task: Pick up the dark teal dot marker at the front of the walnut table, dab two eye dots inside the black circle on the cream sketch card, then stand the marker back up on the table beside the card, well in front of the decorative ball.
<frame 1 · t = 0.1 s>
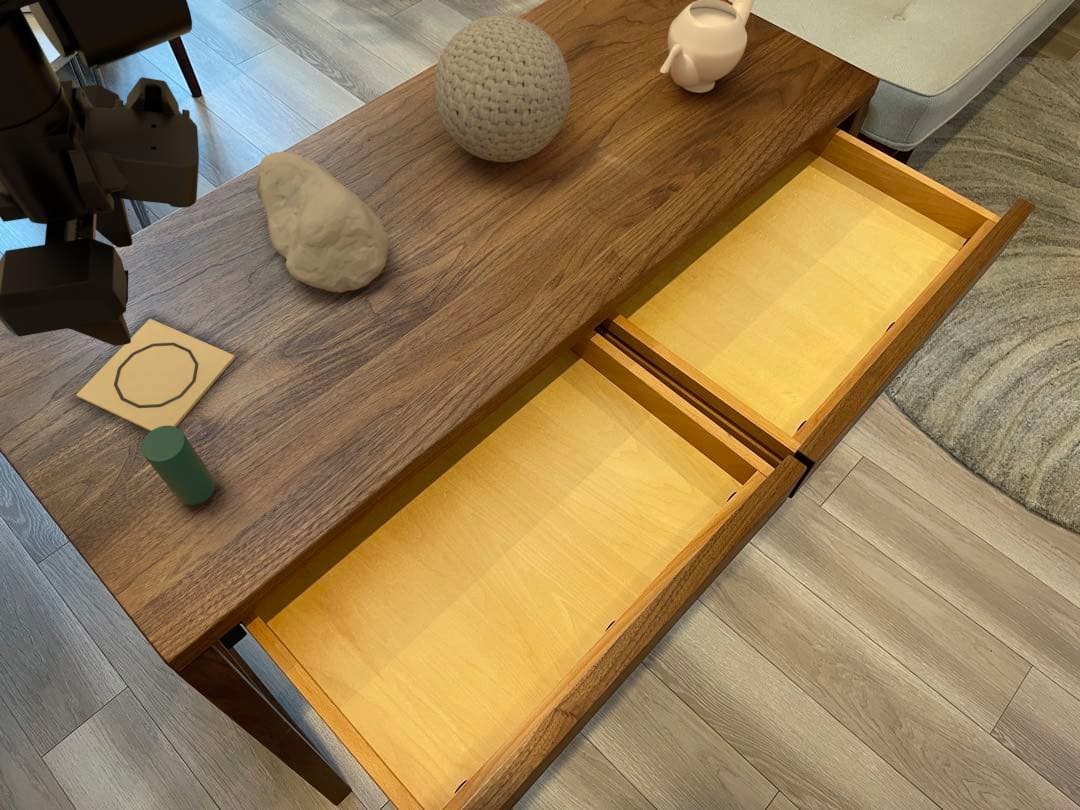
hand: (124, 291, 55), 18 cm above the table, tool pointing down, fingers open, 9 cm apart
sketch card: (158, 377, 73), on the table
decorative ball: (502, 148, 92), on the table
marker: (199, 493, 67), on the table
teapot: (696, 83, 101), on the table
decorative stone: (321, 246, 83), on the table
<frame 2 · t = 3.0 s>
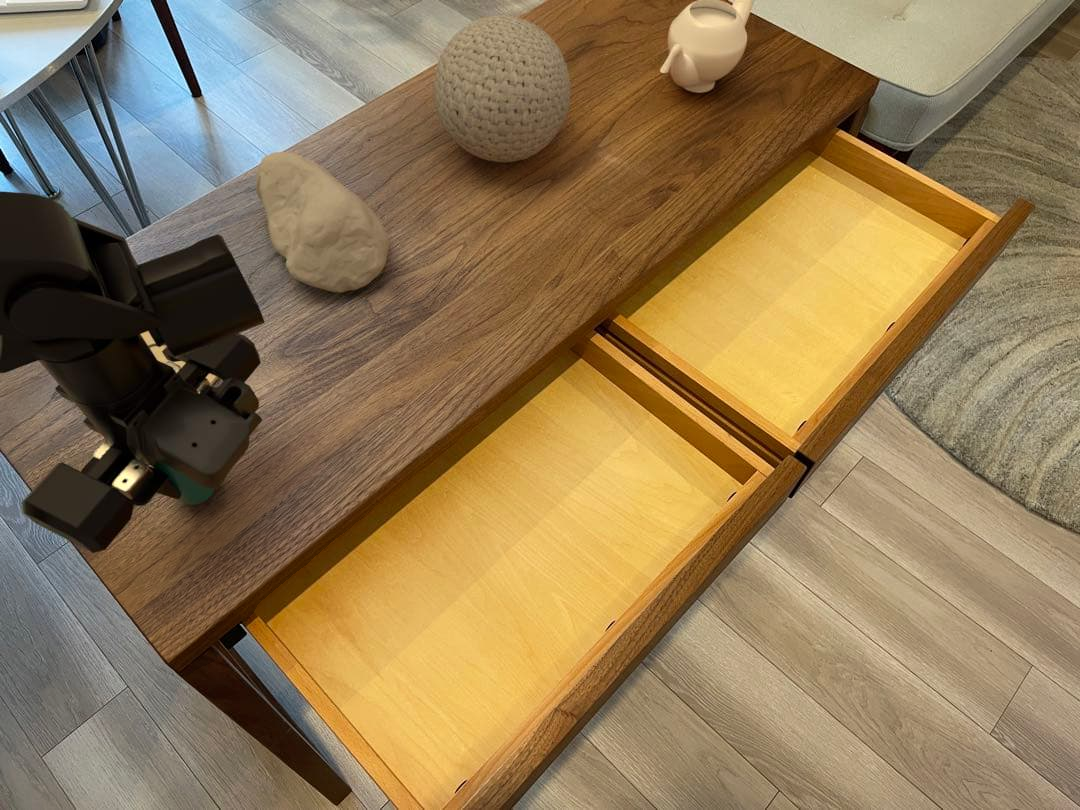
hand: (189, 478, 64), 3 cm above the table, tool pointing down, fingers closed on marker, 3 cm apart
marker: (199, 492, 67), on the table, touching gripper
everything else where it was.
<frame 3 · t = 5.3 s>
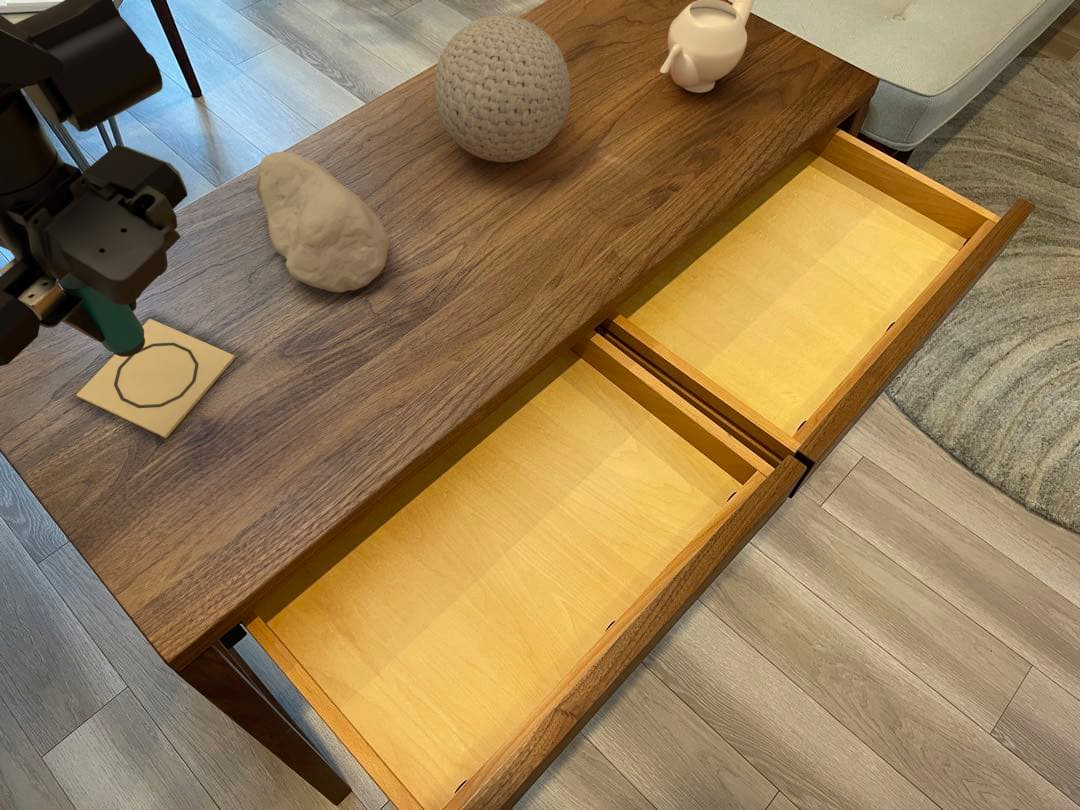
hand: (114, 323, 61), 12 cm above the table, tool pointing down, fingers closed on marker, 3 cm apart
marker: (128, 344, 63), point 9 cm above the table, touching gripper
everything else where it was.
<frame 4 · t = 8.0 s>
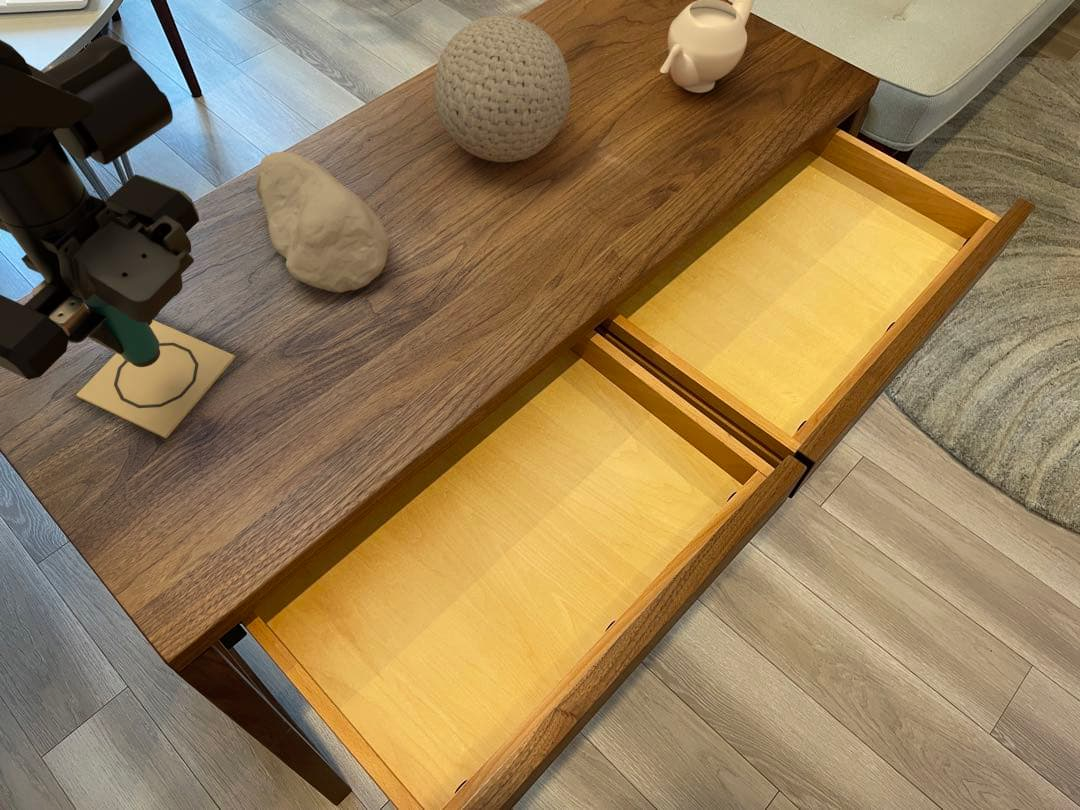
hand: (132, 337, 67), 7 cm above the table, tool pointing down, fingers closed on marker, 3 cm apart
marker: (145, 355, 69), point 4 cm above the table, touching gripper
everything else where it was.
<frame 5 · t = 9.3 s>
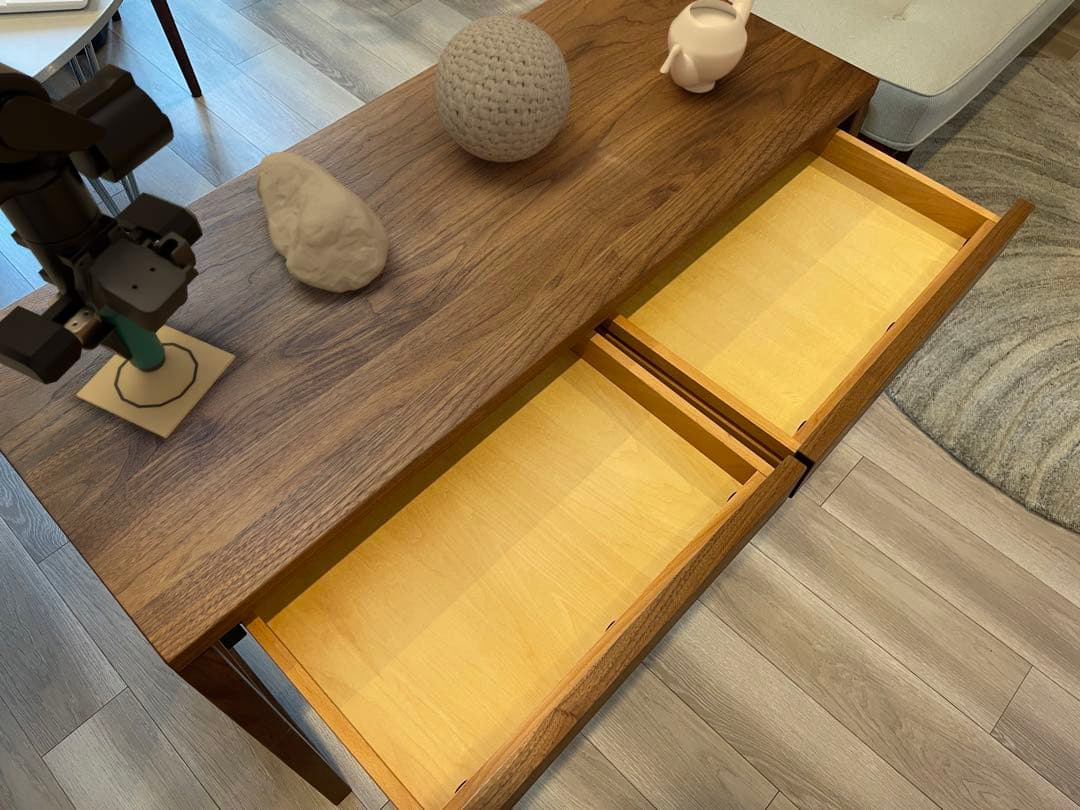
hand: (139, 344, 71), 3 cm above the table, tool pointing down, fingers closed on marker, 3 cm apart
marker: (151, 361, 73), resting on sketch card, touching gripper
everything else where it was.
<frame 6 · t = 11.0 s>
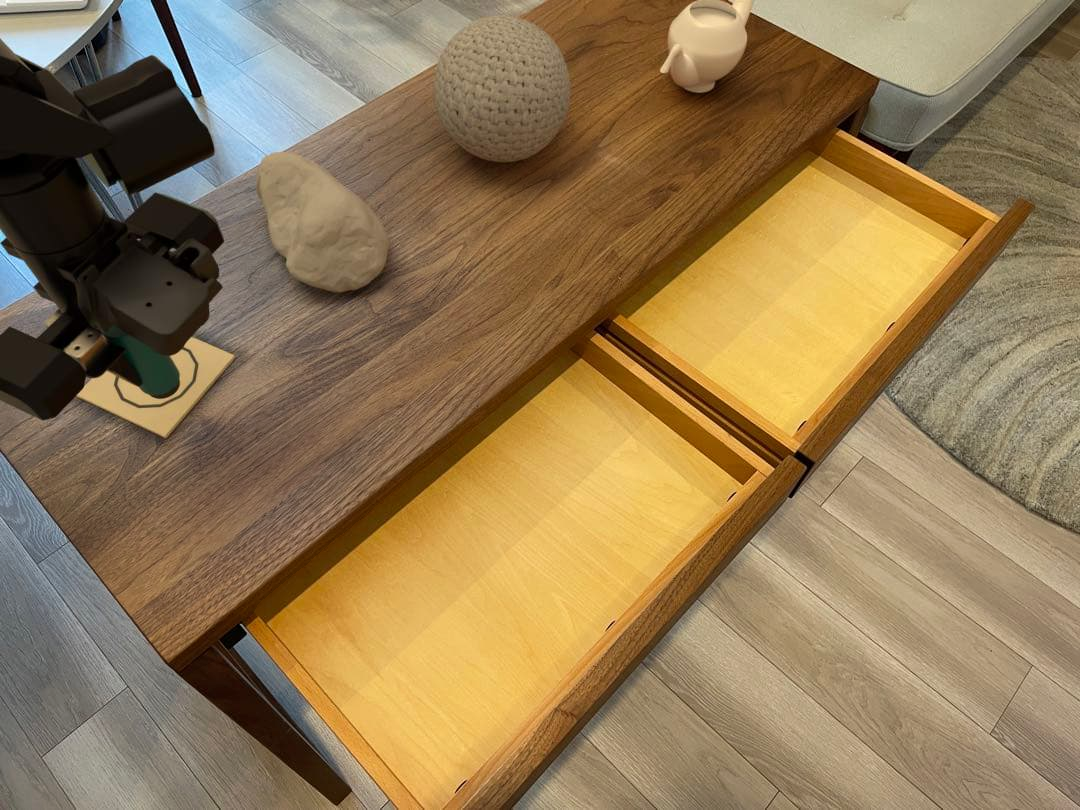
hand: (151, 367, 62), 10 cm above the table, tool pointing down, fingers closed on marker, 3 cm apart
marker: (163, 386, 64), point 7 cm above the table, touching gripper
everything else where it was.
when the fingers open (3 cm above the table, at t = 13.0 s): marker stays where it is, on the table.
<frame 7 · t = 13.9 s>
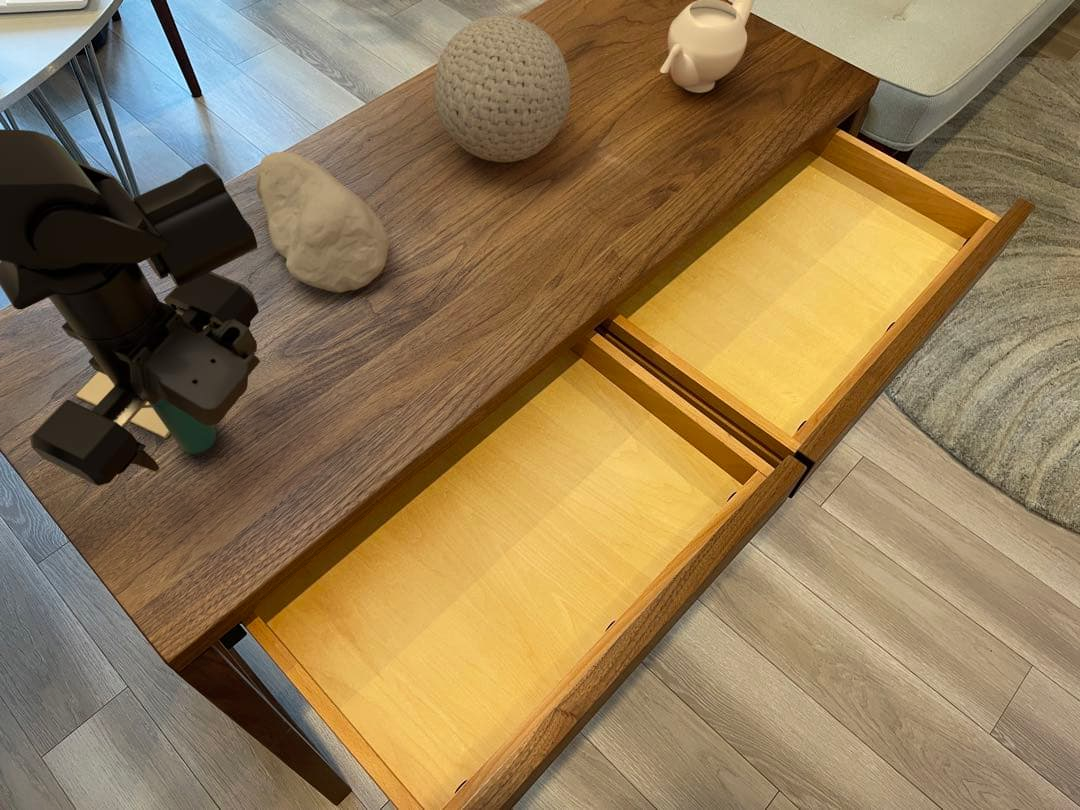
hand: (189, 425, 67), 3 cm above the table, tool pointing down, fingers open, 9 cm apart
marker: (201, 443, 69), on the table
everything else where it was.
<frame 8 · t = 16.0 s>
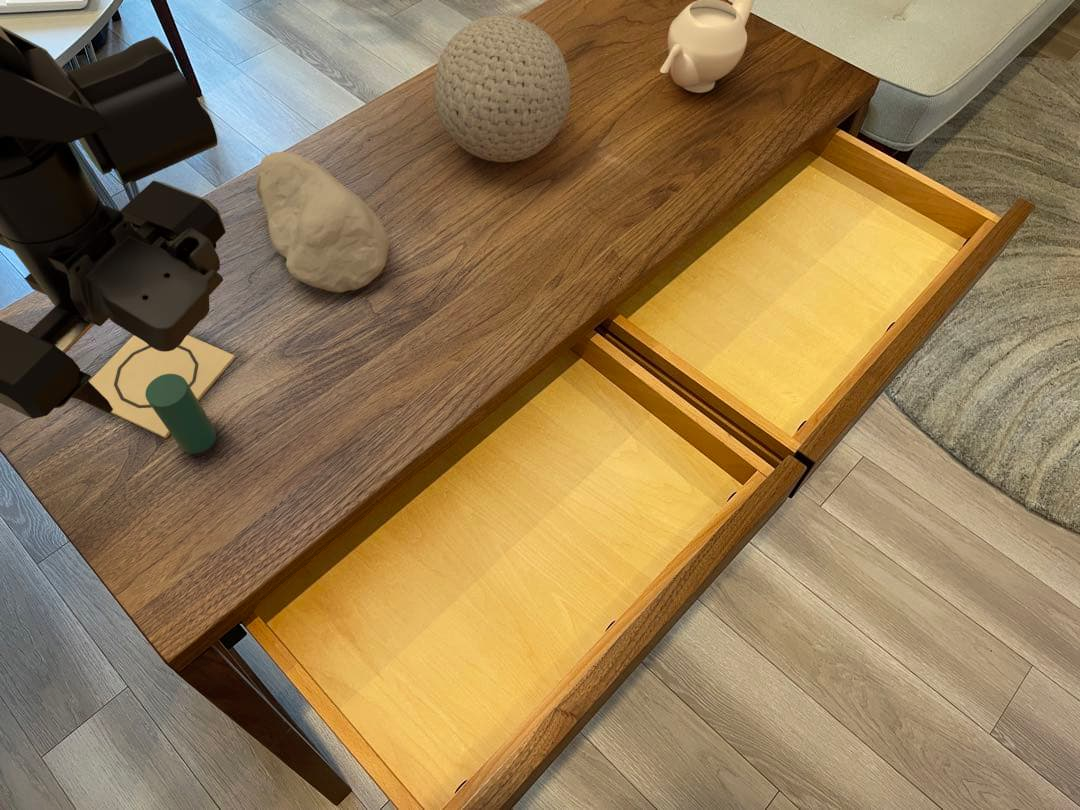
hand: (149, 363, 59), 12 cm above the table, tool pointing down, fingers open, 9 cm apart
nothing on the table moved.
at the end: marker 0.0 cm from the target spot on the table beside the decorative ball, on the table; marker tilted 0°; the gripper is holding nothing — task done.
